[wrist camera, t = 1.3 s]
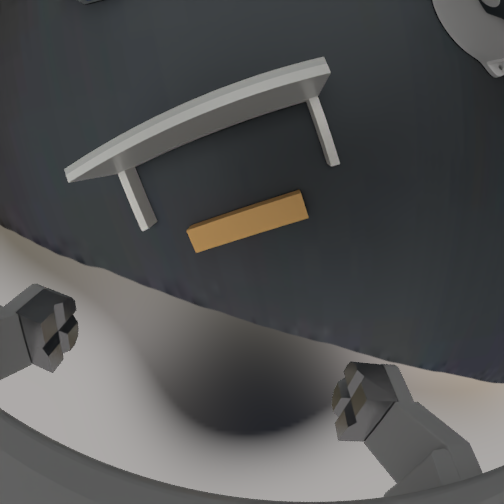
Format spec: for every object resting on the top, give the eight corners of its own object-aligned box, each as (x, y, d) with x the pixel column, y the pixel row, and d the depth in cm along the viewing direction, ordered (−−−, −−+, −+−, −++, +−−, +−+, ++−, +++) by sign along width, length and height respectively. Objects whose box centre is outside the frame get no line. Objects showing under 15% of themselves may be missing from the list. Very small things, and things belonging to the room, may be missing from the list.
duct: (311, 93, 30) (315, 89, 27) (334, 161, 33) (340, 164, 30) (126, 164, 35) (115, 167, 32) (151, 223, 38) (141, 231, 35)
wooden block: (299, 189, 35) (301, 193, 33) (306, 212, 36) (308, 217, 34) (191, 224, 38) (186, 230, 36) (200, 245, 39) (196, 252, 37)
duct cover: (318, 95, 27) (313, 83, 27) (330, 72, 19) (324, 56, 18) (115, 174, 32) (112, 163, 32) (68, 182, 23) (64, 169, 23)
